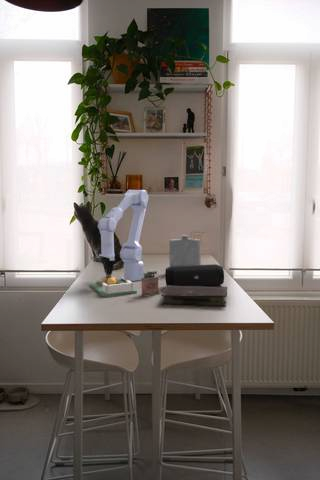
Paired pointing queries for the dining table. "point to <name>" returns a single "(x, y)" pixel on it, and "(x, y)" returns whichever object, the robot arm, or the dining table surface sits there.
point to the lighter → (150, 284)
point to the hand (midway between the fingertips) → (108, 273)
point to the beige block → (104, 279)
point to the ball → (111, 281)
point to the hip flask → (185, 251)
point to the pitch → (98, 288)
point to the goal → (117, 287)
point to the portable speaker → (195, 275)
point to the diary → (194, 296)
